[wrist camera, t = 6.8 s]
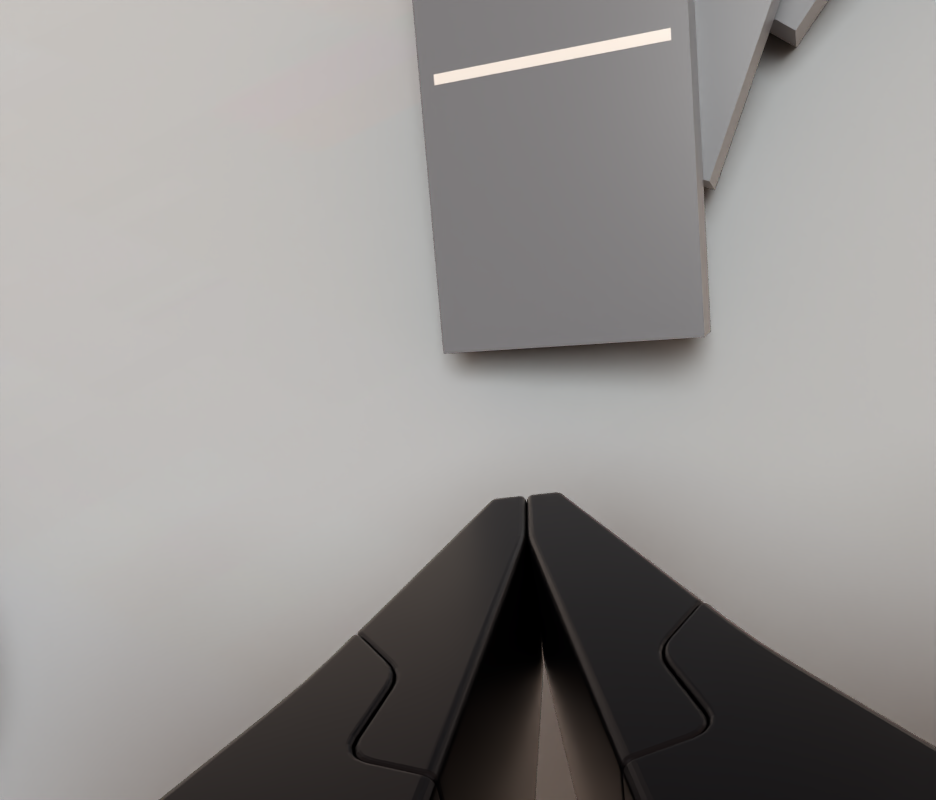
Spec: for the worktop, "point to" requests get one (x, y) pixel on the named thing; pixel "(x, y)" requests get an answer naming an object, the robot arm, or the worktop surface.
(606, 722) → the robot arm
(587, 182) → the domino
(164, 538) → the worktop surface
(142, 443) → the worktop surface
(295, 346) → the worktop surface
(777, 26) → the domino
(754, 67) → the domino
